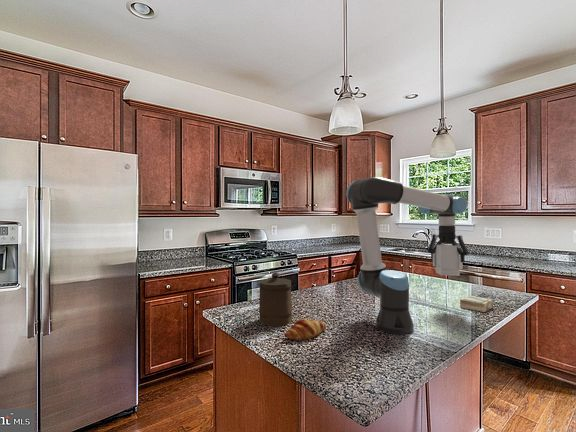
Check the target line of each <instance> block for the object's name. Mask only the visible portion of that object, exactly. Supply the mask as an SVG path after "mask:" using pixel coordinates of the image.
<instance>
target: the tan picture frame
mask: <svg viewBox="0 0 576 432" xmlns="http://www.w3.org/2000/svg"><path fill="white" fill-rule="evenodd" d="M459 307H460V308H463V309H468V310H471V311H478V312H482V313H485V312H487V311H489V310H491V309H492V308H493V299H491V298H486V297H481V296H480V297H479V296H475V295H474V296H473V295H466V296H464V297H462V298H460V299H459Z"/></svg>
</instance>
